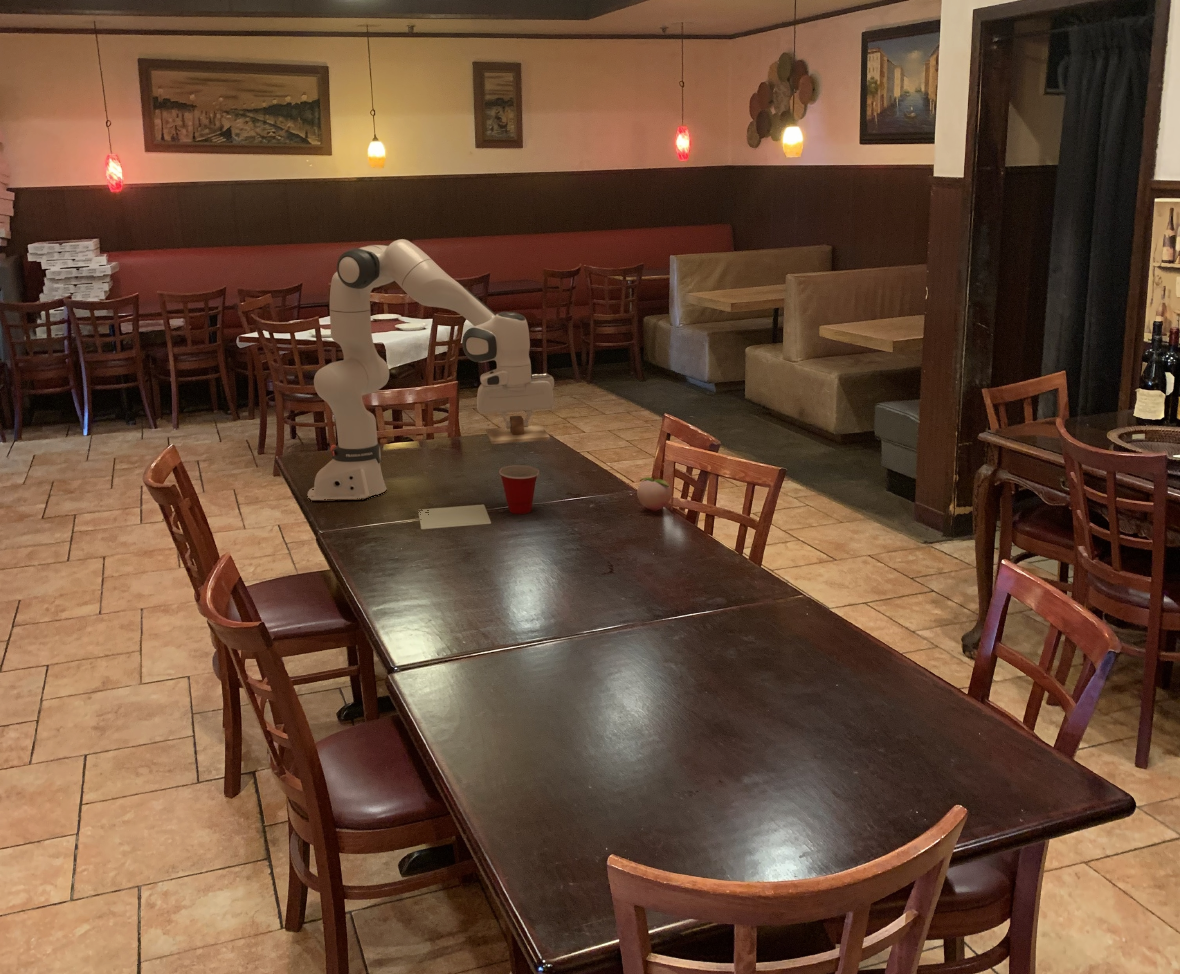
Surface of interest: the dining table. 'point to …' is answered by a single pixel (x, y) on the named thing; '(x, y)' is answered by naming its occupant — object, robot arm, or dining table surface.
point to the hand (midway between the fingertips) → (516, 427)
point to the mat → (454, 516)
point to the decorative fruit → (654, 493)
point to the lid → (517, 432)
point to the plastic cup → (519, 487)
